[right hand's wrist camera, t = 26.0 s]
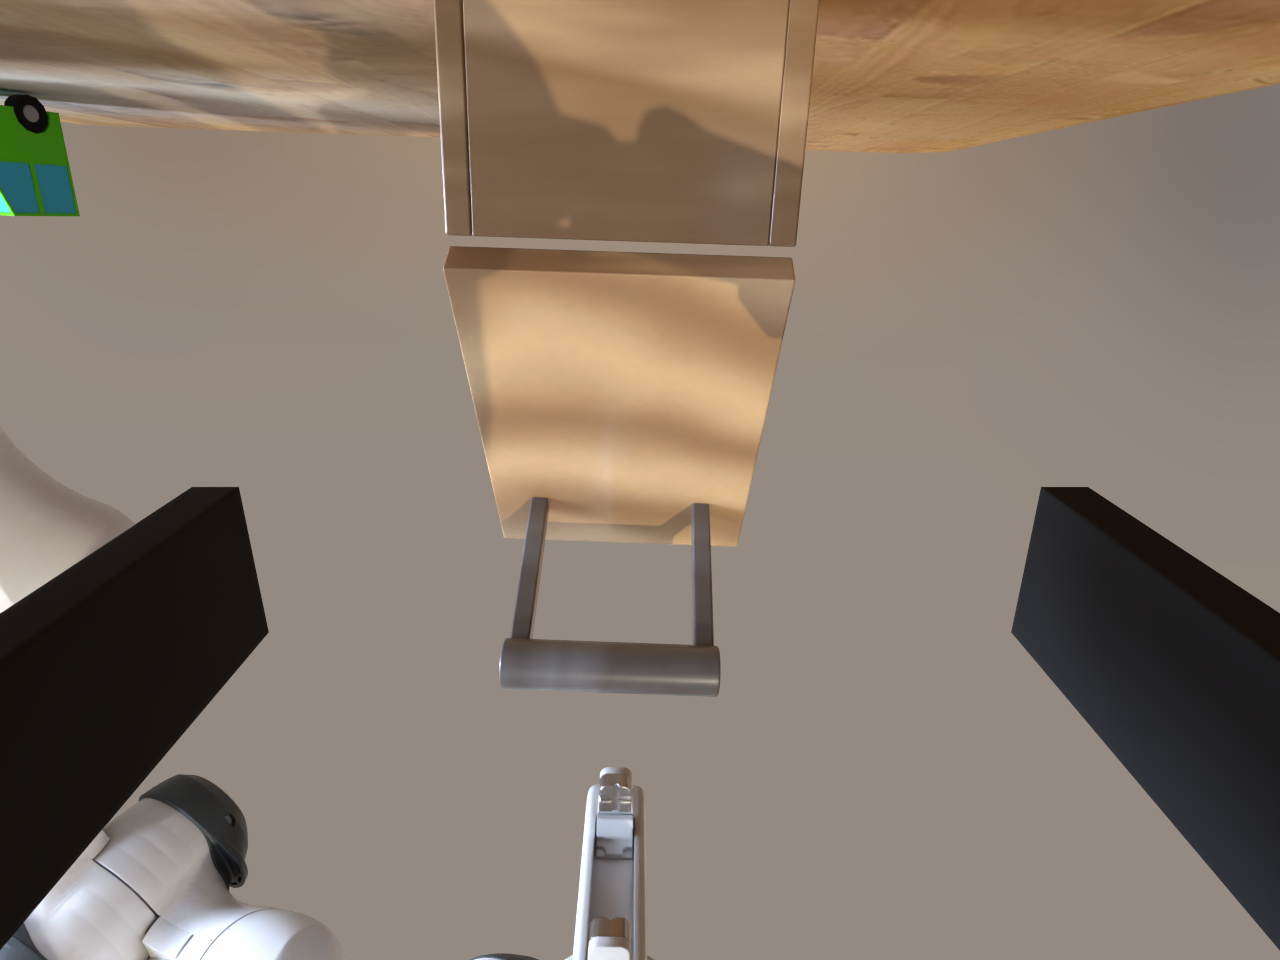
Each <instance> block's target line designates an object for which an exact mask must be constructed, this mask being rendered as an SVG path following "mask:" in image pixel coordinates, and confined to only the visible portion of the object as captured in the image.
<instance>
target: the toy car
mask: <svg viewBox="0 0 1280 960" xmlns="http://www.w3.org/2000/svg"><path fill="white" fill-rule="evenodd" d="M0 215H7V216H80V215H79V211H78V206H77V201H76V196H75V191H74V186H73V181H72V176H71V172H70V167H69V162H68V157H67V152H66V147H65V143H64V138H63V133H62V128H61V123H60V118H59V113H54V112H46V111H45V108H44V106H43V105H42V104H41V103H40V102H39V101H38V100H37V99H36V98H34V97H32V96H29V95H27V94H17V95H11V96H9V97H8V98H7V99H6V101H5V105H4V106H3V105H0Z"/></svg>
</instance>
